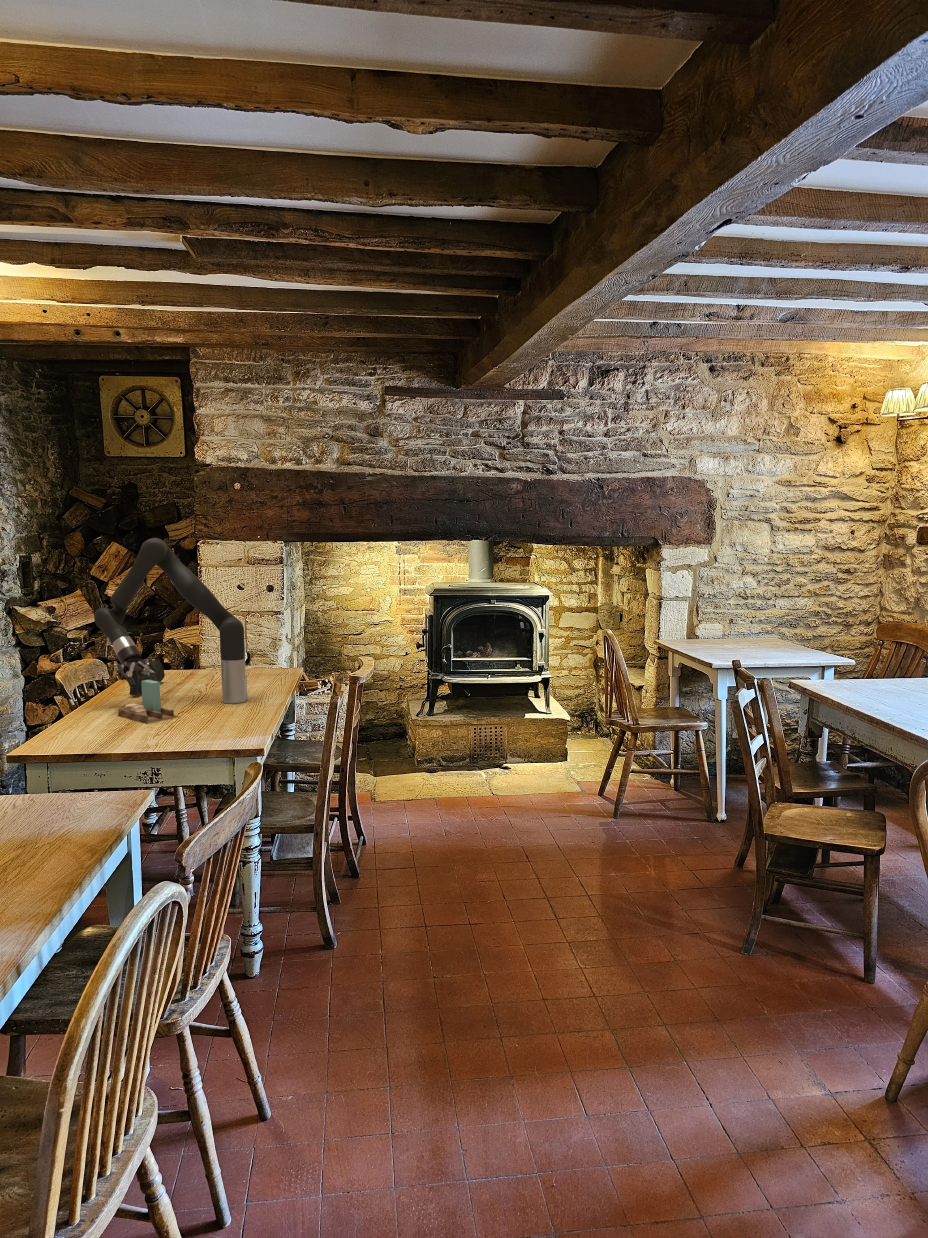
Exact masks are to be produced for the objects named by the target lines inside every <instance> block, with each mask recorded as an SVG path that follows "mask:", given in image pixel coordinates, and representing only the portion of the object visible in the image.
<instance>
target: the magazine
mask: <svg viewBox="0 0 928 1238" xmlns="http://www.w3.org/2000/svg"><path fill="white" fill-rule="evenodd" d="M153 663H154V664H155V666H156V667H157V669H158V671H157V672H156V674H155V676H156V677H157V679H158V680H157V682H160V683H161V682H162V681H163V680H164V678H165V677H166V674H165V669H164V667H163V663H161V660H160V659H159V658H157V659H154V661H153ZM145 670H146V669H145V668H144V671H145ZM149 673H150V672H149ZM131 677H132V678H133V680H134V682H135V683H136V686H135V688H132V687H130V686H129V696H139V695H142V685H141V681H144V680H151V679H150V676H148V675H146V674H143V673H136V674H132V675H131Z"/></svg>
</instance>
